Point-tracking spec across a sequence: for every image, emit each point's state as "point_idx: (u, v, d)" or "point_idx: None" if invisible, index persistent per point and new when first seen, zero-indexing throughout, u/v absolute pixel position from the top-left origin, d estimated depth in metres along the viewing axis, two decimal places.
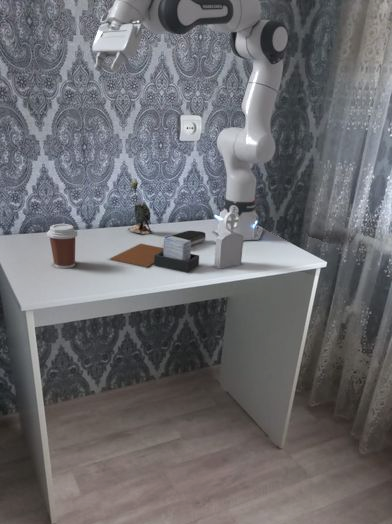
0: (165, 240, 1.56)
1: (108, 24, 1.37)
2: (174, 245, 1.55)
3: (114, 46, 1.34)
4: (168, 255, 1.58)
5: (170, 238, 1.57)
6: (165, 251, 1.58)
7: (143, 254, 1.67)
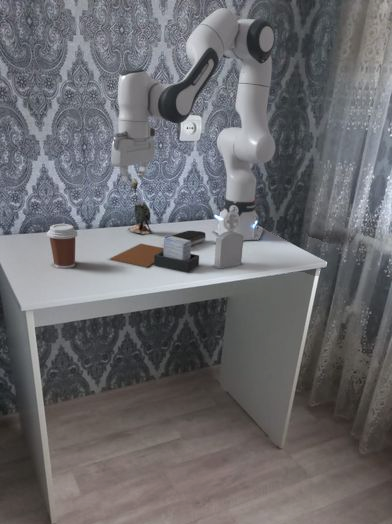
0: (165, 240, 1.56)
1: None
2: (174, 245, 1.55)
3: None
4: (168, 255, 1.58)
5: (170, 238, 1.57)
6: (165, 251, 1.58)
7: (143, 254, 1.67)
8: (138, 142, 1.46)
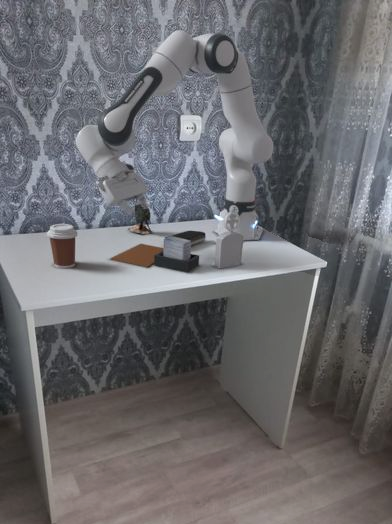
0: (165, 240, 1.56)
1: None
2: (174, 245, 1.55)
3: None
4: (168, 255, 1.58)
5: (170, 238, 1.57)
6: (165, 251, 1.58)
7: (143, 254, 1.67)
8: (120, 177, 1.53)
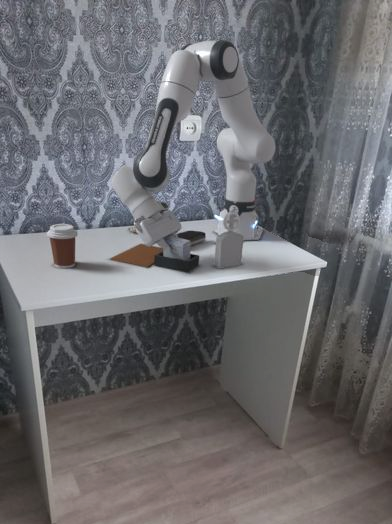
0: None
1: None
2: (174, 245, 1.54)
3: None
4: (168, 255, 1.57)
5: (169, 238, 1.56)
6: (165, 251, 1.57)
7: (143, 254, 1.67)
8: (156, 217, 1.54)
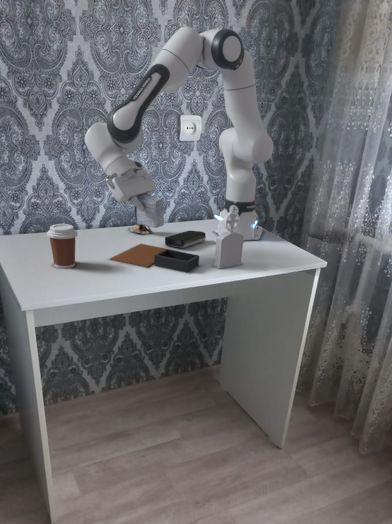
0: (138, 198, 1.56)
1: None
2: (147, 203, 1.55)
3: None
4: (141, 214, 1.58)
5: (143, 197, 1.57)
6: (138, 210, 1.58)
7: (143, 254, 1.67)
8: (129, 174, 1.54)
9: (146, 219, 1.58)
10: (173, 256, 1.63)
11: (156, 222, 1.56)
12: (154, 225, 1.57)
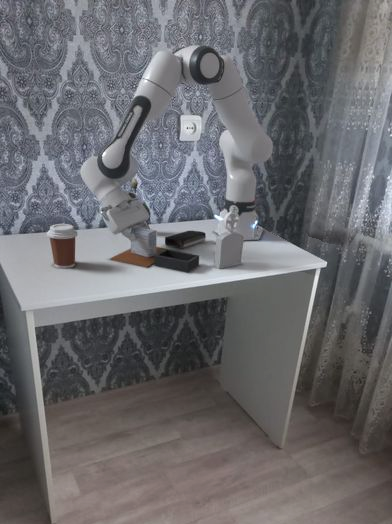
0: (132, 230, 1.63)
1: None
2: (140, 235, 1.62)
3: None
4: (135, 244, 1.65)
5: (137, 228, 1.64)
6: None
7: None
8: (123, 206, 1.61)
9: (140, 249, 1.64)
10: (173, 256, 1.63)
11: (149, 252, 1.63)
12: (147, 255, 1.63)
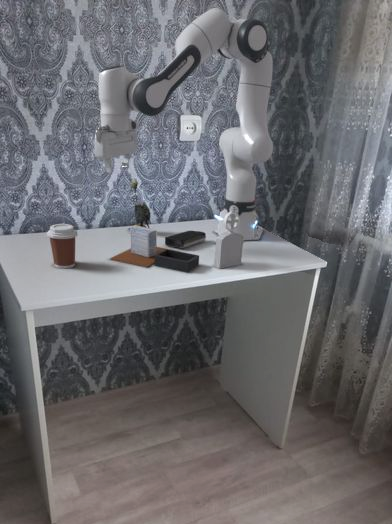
0: (132, 230, 1.63)
1: None
2: (140, 235, 1.62)
3: None
4: (135, 244, 1.65)
5: (137, 228, 1.64)
6: (132, 240, 1.65)
7: None
8: (120, 135, 1.55)
9: (140, 249, 1.64)
10: (173, 256, 1.63)
11: (149, 252, 1.63)
12: (147, 255, 1.63)
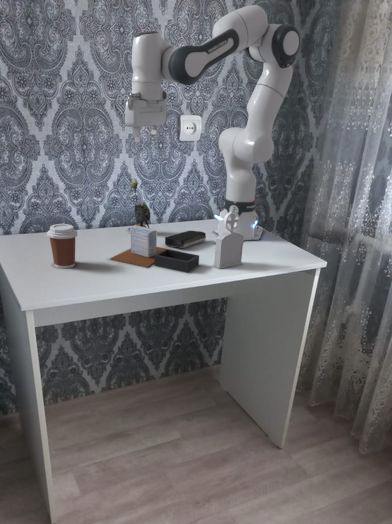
0: (132, 230, 1.63)
1: None
2: (140, 235, 1.62)
3: None
4: (135, 244, 1.65)
5: (137, 228, 1.64)
6: (132, 240, 1.65)
7: None
8: (151, 104, 1.51)
9: (140, 249, 1.64)
10: (173, 256, 1.63)
11: (149, 252, 1.63)
12: (147, 255, 1.63)
